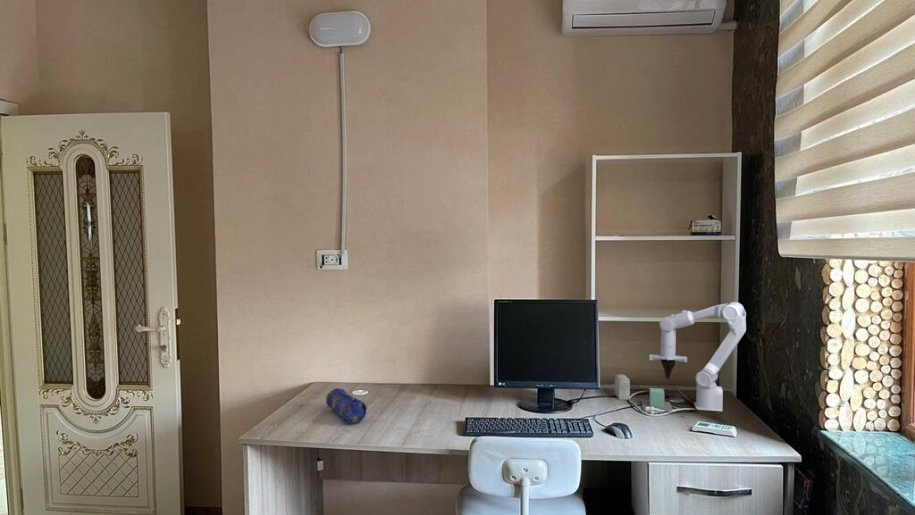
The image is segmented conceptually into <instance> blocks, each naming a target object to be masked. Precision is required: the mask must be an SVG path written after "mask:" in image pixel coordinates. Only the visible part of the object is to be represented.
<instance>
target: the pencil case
mask: <svg viewBox="0 0 915 515" xmlns="http://www.w3.org/2000/svg"><path fill="white" fill-rule="evenodd" d="M325 402H326V405H327V407H329V408H330V409H331V410H332V411H333V412H335V413H336V414H337V415H338V416H339V417H341V418H342V419H343V420H345V421H346V422H347V423H348V424H350V425H357V424H359V423H360V422H362V421H363V419H365V417H366V414H367V410H368V407H367V405H366V403H364V402H363V401H362V400H360V399H358V398H357V397H354V396H353V395H351V394H348V393H347V391H345V389H343V388H340V387H339V388H337V387H336V388H333V389H332V390H331V391H329V392H328V393H327V394H326V397H325Z"/></svg>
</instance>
